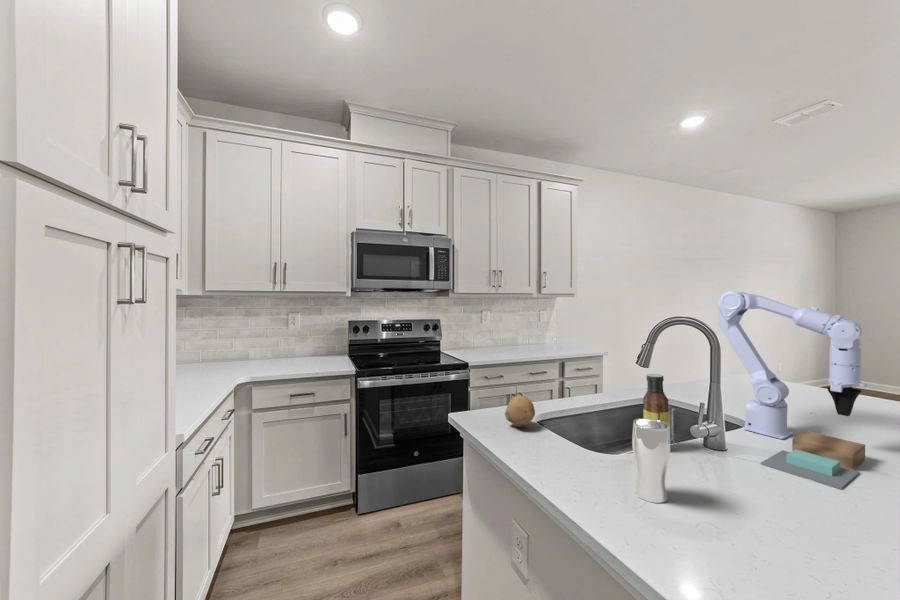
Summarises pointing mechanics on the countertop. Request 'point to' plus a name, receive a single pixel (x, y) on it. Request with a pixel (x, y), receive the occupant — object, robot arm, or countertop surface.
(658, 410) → the sauce bottle
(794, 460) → the tile
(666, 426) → the beer glass
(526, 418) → the tan round lump
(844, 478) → the mat
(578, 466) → the countertop surface
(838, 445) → the block
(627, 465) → the countertop surface
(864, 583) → the countertop surface
